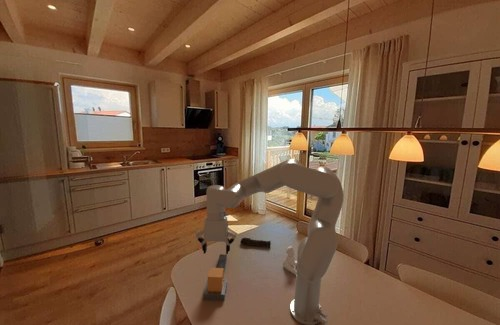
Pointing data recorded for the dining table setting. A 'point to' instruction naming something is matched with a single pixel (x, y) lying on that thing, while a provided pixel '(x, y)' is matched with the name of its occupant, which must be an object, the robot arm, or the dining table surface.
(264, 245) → the hand tool
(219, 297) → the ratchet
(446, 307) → the dining table surface
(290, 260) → the seated beast figurine
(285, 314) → the dining table surface
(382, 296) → the dining table surface
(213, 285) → the orange cube
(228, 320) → the dining table surface
